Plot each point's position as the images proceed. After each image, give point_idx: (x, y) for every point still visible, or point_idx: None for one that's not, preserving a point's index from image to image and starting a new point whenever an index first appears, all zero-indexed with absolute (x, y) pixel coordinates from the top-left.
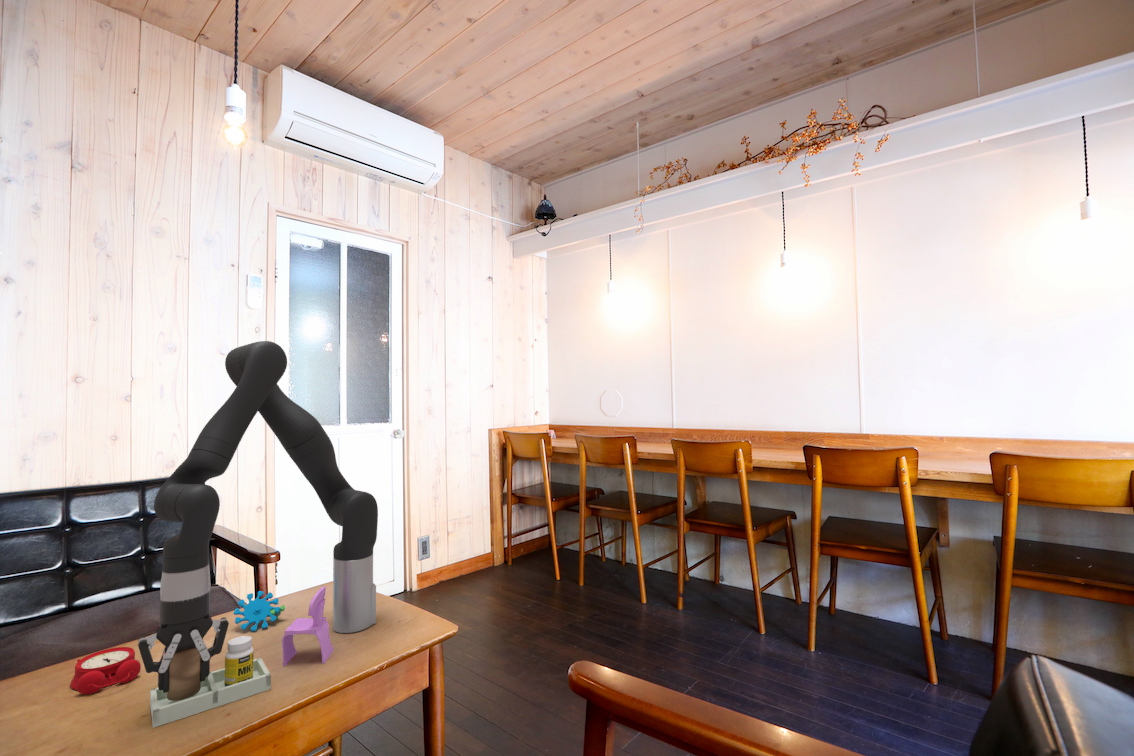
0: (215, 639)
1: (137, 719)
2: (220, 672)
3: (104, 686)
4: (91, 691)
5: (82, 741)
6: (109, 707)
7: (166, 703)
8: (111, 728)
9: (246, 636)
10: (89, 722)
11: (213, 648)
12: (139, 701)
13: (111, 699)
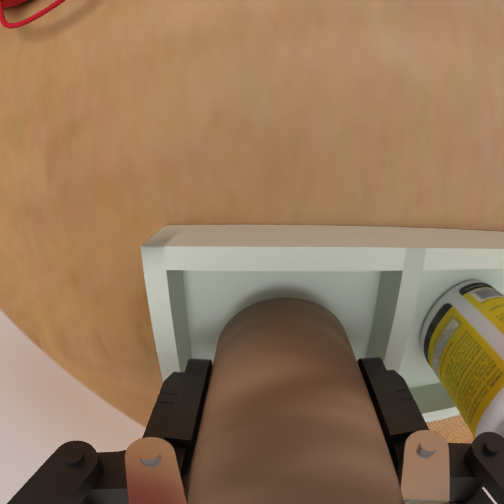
0: (499, 502)
1: (135, 310)
2: (451, 266)
3: (18, 26)
4: (15, 4)
5: (33, 325)
6: (46, 139)
7: (220, 307)
8: (75, 310)
9: None
10: (16, 219)
11: (451, 500)
12: (128, 155)
13: (52, 72)
